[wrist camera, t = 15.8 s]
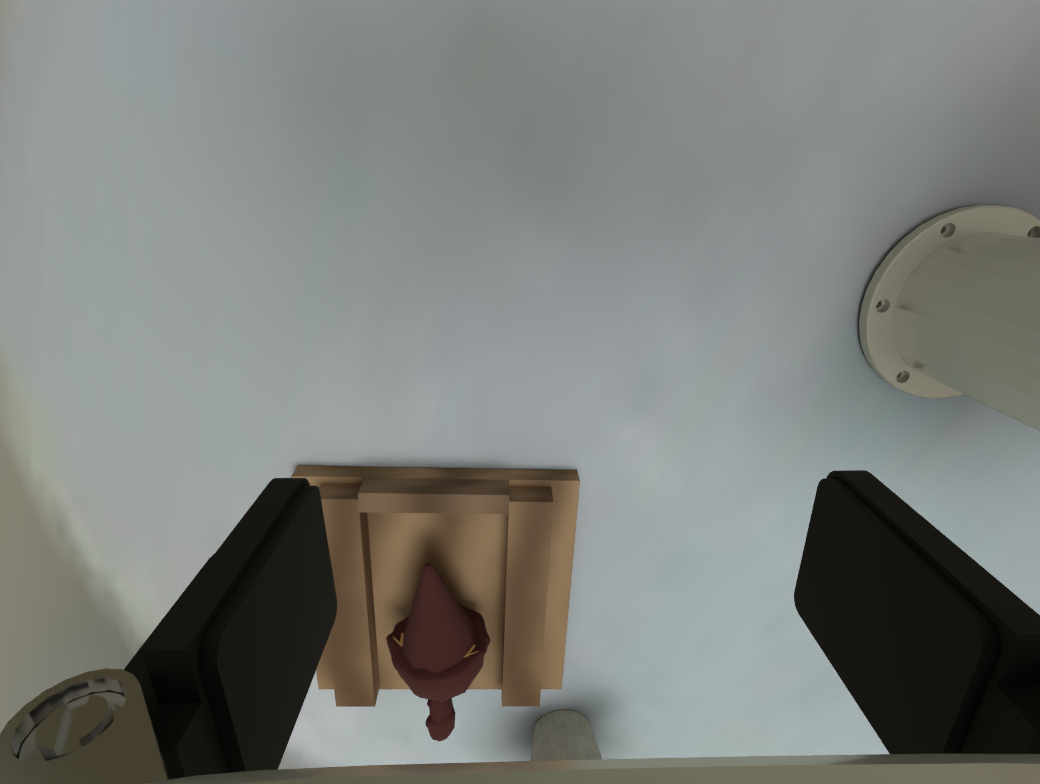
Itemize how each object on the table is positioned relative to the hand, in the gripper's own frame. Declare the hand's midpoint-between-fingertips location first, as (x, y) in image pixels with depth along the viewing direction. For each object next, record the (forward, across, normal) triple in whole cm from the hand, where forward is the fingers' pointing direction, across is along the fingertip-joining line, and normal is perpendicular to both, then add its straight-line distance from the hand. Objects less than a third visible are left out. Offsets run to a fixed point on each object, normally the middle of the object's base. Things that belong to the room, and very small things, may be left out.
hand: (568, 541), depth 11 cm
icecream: (+26, +6, +25) cm, 37 cm away
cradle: (+27, +7, +24) cm, 36 cm away
